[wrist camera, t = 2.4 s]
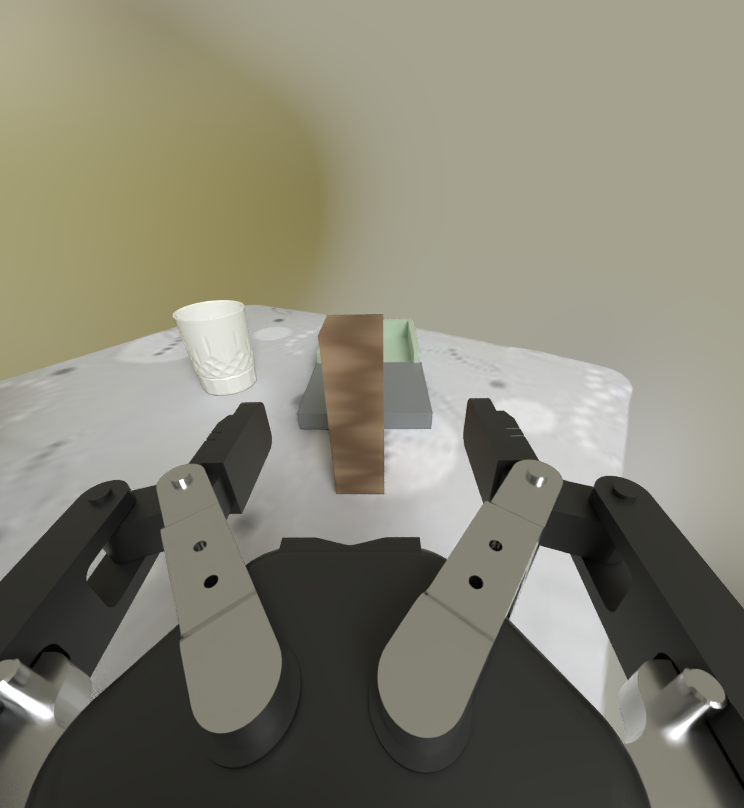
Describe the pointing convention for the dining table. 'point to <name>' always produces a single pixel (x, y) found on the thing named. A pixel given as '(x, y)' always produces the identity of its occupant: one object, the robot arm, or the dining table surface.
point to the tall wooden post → (355, 400)
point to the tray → (397, 341)
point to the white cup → (218, 345)
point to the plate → (401, 399)
